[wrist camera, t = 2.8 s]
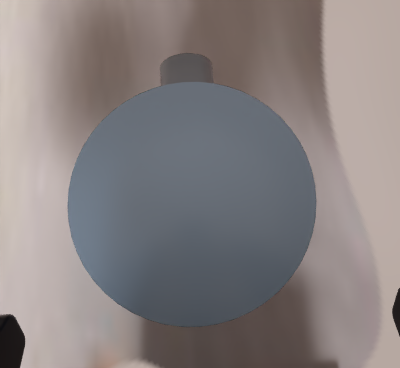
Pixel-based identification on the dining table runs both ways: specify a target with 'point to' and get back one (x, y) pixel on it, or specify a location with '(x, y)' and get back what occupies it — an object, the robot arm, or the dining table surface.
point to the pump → (191, 200)
